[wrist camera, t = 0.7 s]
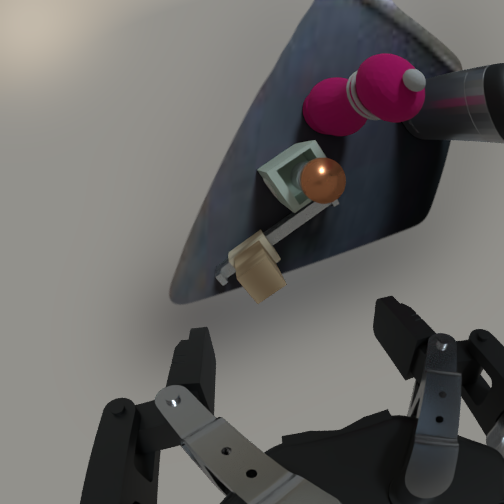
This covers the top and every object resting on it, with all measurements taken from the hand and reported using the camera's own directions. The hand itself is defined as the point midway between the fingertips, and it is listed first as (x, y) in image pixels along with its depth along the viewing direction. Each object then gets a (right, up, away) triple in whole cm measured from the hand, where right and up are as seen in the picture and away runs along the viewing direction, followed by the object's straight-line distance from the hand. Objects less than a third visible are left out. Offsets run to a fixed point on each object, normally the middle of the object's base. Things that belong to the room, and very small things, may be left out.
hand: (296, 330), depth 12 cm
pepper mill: (+7, +22, +20) cm, 31 cm away
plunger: (+3, +11, +15) cm, 19 cm away
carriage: (-2, +4, +24) cm, 24 cm away
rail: (+1, +6, +24) cm, 25 cm away
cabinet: (+2, +14, +22) cm, 26 cm away
